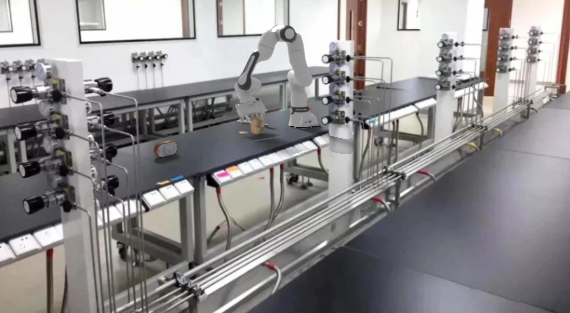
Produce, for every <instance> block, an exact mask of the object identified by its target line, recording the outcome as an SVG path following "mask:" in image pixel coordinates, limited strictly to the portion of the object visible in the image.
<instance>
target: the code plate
mask: <svg viewBox="0 0 570 313" xmlns="http://www.w3.org/2000/svg"><path fill="white" fill-rule="evenodd" d="M238 133H239V134H249V132H248V131H245V130H244V131H239V132H238Z"/></svg>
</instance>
